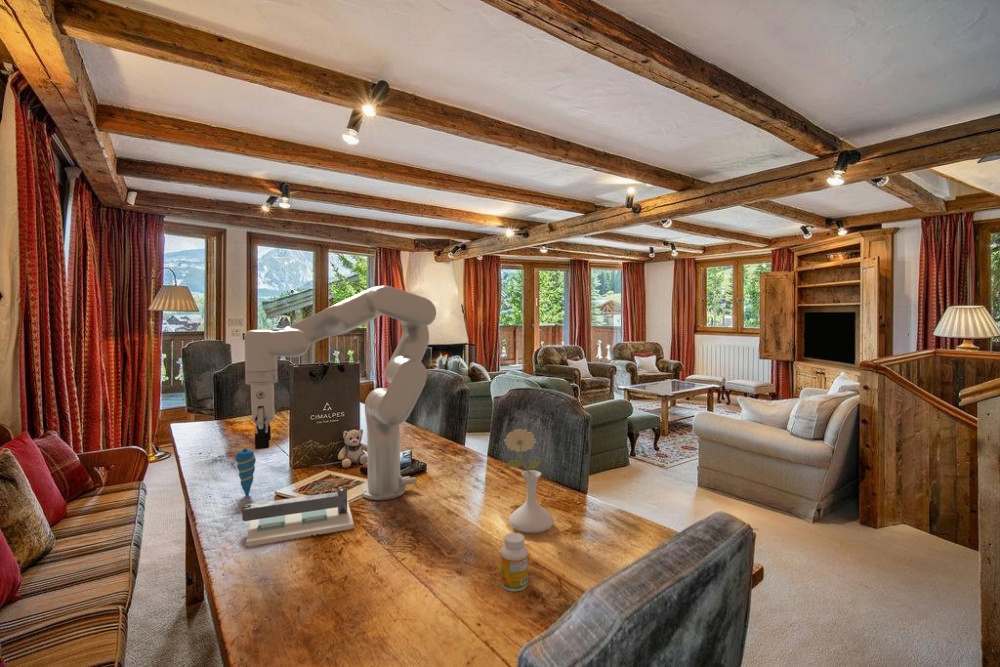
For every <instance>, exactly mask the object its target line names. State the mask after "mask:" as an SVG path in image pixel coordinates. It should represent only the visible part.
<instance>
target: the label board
mask: <svg viewBox="0 0 1000 667" xmlns="http://www.w3.org/2000/svg"><path fill="white" fill-rule="evenodd" d="M353 529H355V526H354V519H353V516H352V513H351V508H350V504H349V501H348V500H347V512H346V513H343V514H340V513H338V507H336V508H329V509H323V510H316V511H310V512H303V513H297V514H290V515H283V516H277V517H270V518H264V519H257V520H250V523H249V528H248V533H247V536H246V541H245V543H246V544H245V545H246V546H249V547H253V546H252V545H255V546H260V545H265V544H271V543H277V541H278V542H283V540H284V541H289V539H290V540H294V538H296V539H300V537H301V538H306V536H307V537H312V536H311V535H313V536H317V534H319V535H323V534H330V533H335V532H342V531H347V530H353ZM259 544H260V545H259Z"/></svg>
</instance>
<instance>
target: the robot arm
mask: <svg viewBox="0 0 1000 667" xmlns="http://www.w3.org/2000/svg"><path fill="white" fill-rule="evenodd" d="M436 308H437V307H436V306H435V304H434V303H433V302H432V301H431V300H430V299H429V298H426V297H423V296H421V295H417V294H414V293H412V292H408V291H404V290H402V289H399V288H397V287H394V286H390V285H377V286H372V287H370V288H367V289H365V290H363V291H361V292H359V293H357V294H354V295H352V296H351V297H348V298H346V299H344V300H342V301H340V302H338V303H335V304H334V305H331V306H329V307H326V308H324V309H323V310H321V311H319V312H317V313H314V314H312V315H310V316H307V317H305V318H303V319H300V320H299V321H296V322H294V323H292V324H290V325H287V326H286V327H283V328H282V329H280V330H272V329H251V330H247V331H246V332H245V333H244V367H245V368H244V370H245V372H244V373H245V374H244V376H245V379H244V380H245V385H249V386H250V402H251V403H250V404H251V405H250V406H251V408H250V409H251V417H252V418H251V419H252V422H253V423H254V424H255V433H254V449H255V450H263V449H269V448H270V441H271V439H272V438H271V436H272V435H271V434H272V433H271V429H272V428H271V424H270V422H271V423H272V422H273V421H275V416H276V411H275V410H276V409H275V408H276V406H275V385H274V384H276V383H278V382H279V381H278V380H279V378H278V357H283V358H285V357H286V358H298V357H302V356H303V355H305V354H306V353H307V352H308V351H309V349H310V346H311V345H312V344H315V343H316V342H319V341H321V340H322V341H323V340H324V339H327V338H329V337H335V336H341V335H344V334H347V333H349V332H350V331H353V330H355V329H357V328H359V327H361V326H363V325H364V324H367V323H368V322H371V321H373V320H375V319H377V318H379V317H381V316H386V317H389V318H391V319H394V320H397V321H398V322H399V323H400V326H401V337H400V339H399V342H398V344H397V346H396V348H395V349H394V351H393V353H392V355H391V357H390V359H389V361H388V362H387V364H386V366H385V370H384V378H385V379H386V382H387V383H389V385H388V387H378V388H375V389H373V390H372V391H370V392H369V393H368V394H367V396H366V399H365V402H364V414H365V416H364V417H365V422H366V437H367V439H366V444H367V445H366V446H367V447H366V448H367V449H366V450H367V451H366V452H367V453H366V454H367V457H366V458H367V486H365V487H363V489H362V493H363V494H362V496H363V497H364V498H365V499H366V500H367V499H368V500H371V501H372V500H373V501H387V500H388V501H389V500H393V499H396V498H399V497H401V496H402V495H404V494H405V492H406V485H415V484H417V478H416V477H415V476H414V477H411V476H410V475H408V476H402V475H401V431H400V425H401V424H403V423H404V422H406V420H407V419H408V418H409V416H411V412H412V411H413V409H414V407H415V406H416V404H417V401H418V399H419V397H420V396H421V394H422V391H423V389H424V387H425V385H426V382H427V377H428V376H427V374H428V373H427V368H426V367H425V365H424V363H423V362H422V361H423V358H424V355H425V354H426V351H427V349H428V346H429V341H430V331H429V327H428V326H430V325H431V324H432V323H434V321H435V320H436V318H437V309H436Z"/></svg>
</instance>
